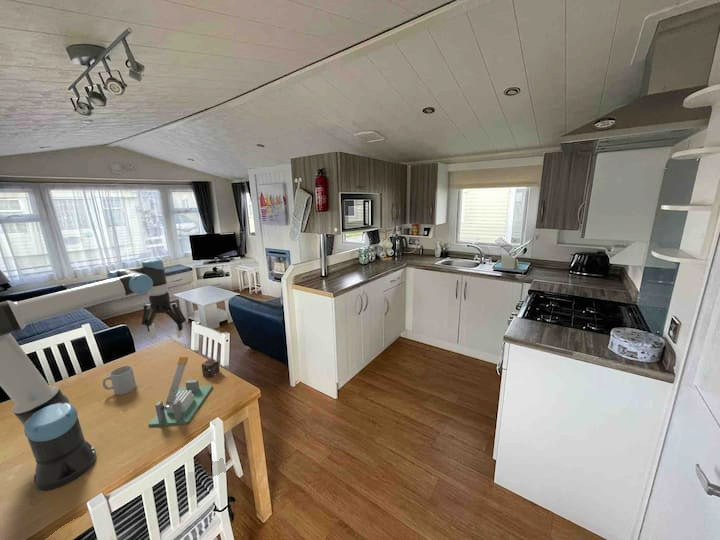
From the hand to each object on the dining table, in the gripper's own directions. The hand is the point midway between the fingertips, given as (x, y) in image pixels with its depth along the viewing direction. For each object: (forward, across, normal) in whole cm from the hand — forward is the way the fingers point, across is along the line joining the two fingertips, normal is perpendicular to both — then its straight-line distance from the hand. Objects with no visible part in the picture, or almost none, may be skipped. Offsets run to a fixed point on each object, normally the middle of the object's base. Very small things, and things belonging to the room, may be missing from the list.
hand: (167, 337), depth 131 cm
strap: (+17, -8, +12) cm, 22 cm away
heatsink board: (+30, -8, +10) cm, 33 cm away
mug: (+30, +29, -4) cm, 42 cm away
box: (+30, -11, -14) cm, 35 cm away
